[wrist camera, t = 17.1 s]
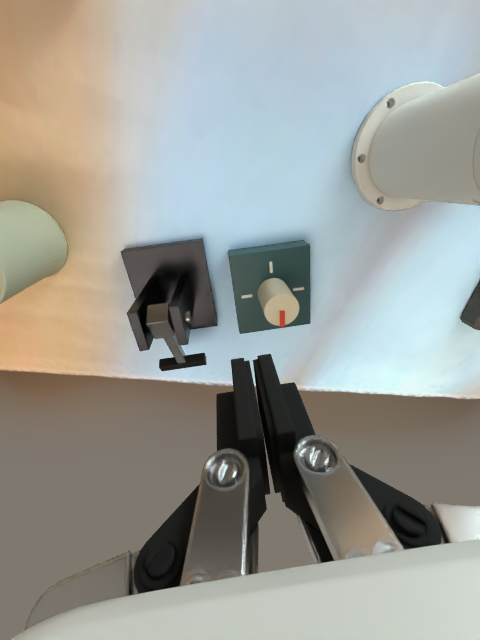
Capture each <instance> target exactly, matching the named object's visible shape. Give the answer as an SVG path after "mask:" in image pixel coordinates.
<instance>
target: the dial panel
mask: <svg viewBox="0 0 480 640" xmlns="http://www.w3.org/2000/svg"><path fill="white" fill-rule="evenodd" d="M228 255H229V262H230V269H231V276H232V283H233V291H234V298H235V305H236V312H237V319H238V326H239V332H240V334H242V333H249V332H256V331H263V330H270V329H277V328H284V327H290V326H297V325H304V324H310V244H308V243H307V242H305V241H304V240H300V241H293V242H286V243H279V244H272V245H265V246H257V247H250V248H243V249H236V250H229V251H228ZM270 278H278V279H281V280H282V281H284V282H285V284H286V285H287V286H288V288H289V289H290V291H291V292H292V294H293V295H294V297H295V298H296V300H297V301H298V303H299V313H298V315H297V317H296V318H295V319H294V320H293V321H292V322H291V323H289V324H287V325H285V326H284V327H280V326H277V325H273V324H271V323H270V322H269V321H268V320H267V319H266V317H265V315H264V312H263V309H262V307H261V304H260V301H259V298H258V289H259V287H260V285H261V284H262V283H263V282H264V281H265V280H267V279H270Z"/></svg>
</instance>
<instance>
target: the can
mask: <svg viewBox="0 0 480 640" xmlns="http://www.w3.org/2000/svg"><path fill="white" fill-rule="evenodd" d="M67 254H68V247H67V241H66V238H65V236H64V233H63V231H62V229H61V228H60V226H59V225H58V224H57V222H56V221H55V220H54V219H53V218H52V217H51V216H50V215H49V214H48V213H46V212H45V211H44V210H42V209H41V208H39V207H37V206H35V205H33V204H30V203H28V202H24V201H20V200H5V201H1V202H0V304H1V303H3V302H4V301H6V300H8V299H9V298H11V297H13V296H14V295H16V294H18V293H19V292H21V291H23V290H24V289H26V288H28V287H29V286H31V285H33V284H35V283H37V282H38V281H40V280H42V279H44V278H45V277H49V276H51V275H53V274H55V273H57V272H58V271H59V270H60V269H61V268H62V267H63V265H64V264H65V262H66V259H67Z"/></svg>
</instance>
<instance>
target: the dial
mask: <svg viewBox="0 0 480 640" xmlns="http://www.w3.org/2000/svg"><path fill="white" fill-rule="evenodd" d="M258 298H259V301H260V304H261V307H262V309H263V312H264V315H265V317H266V319H267V320H268V321H269V322H270V323H271V324H273V325H277V326H280V327H284V326H285V325H287V324H289V323H291V322H292V321H293V320H294V319H295V318H296V317H297V315H298V313H299V303H298V301H297V300H296V298H295V297H294V295H293V294H292V292H291V291H290V289H289V288H288V286H287V285H286V284H285V282H284V281H282V280H281V279H278V278H270V279H267V280H265V281H264V282H263V283H262V284H261V285H260V287H259V289H258Z"/></svg>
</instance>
